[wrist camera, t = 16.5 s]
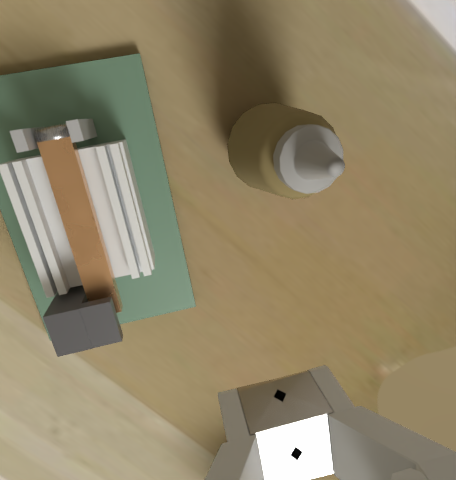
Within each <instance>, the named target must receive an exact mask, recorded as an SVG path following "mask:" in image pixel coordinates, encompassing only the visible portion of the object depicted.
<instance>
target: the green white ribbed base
mask: <svg viewBox="0 0 456 480" xmlns="http://www.w3.org/2000/svg"><path fill="white" fill-rule="evenodd" d="M65 123H66V124H67V128H68V131H69V134H70V138H71V141H72V143H74V142H76V146H77V149H78V153H79V156H80V160H81V163H82V167H83V170H84V174H85V177H86V180H87V184H88V187H89V191H90V194H91V198H92V201H93V205H94V208H95V211H96V215H97V218H98V222H99V225H100V229H101V232H102V236H103V239H104V243H105V246H106V249H107V253H108V256H109V260H110V263H111V267H112V270H113V274H114V277H115V280H116V284H117V287H118V291H119V294H120V298H121V301H122V305H123V307H122V312H118V313H117V317H118V320H119V323H120V324H123V323H127V322H132V321H136V320H140V319H145V318H149V317H153V316H157V315H162V314H166V313H170V312H175V311H179V310H183V309H188V308H192V307H196V305H195V300H194V295H193V291H192V286H191V282H190V277H189V273H188V268H187V264H186V259H185V255H184V250H183V246H182V241H181V237H180V232H179V228H178V223H177V219H176V214H175V210H174V205H173V201H172V196H171V192H170V187H169V183H168V178H167V173H166V169H165V164H164V160H163V155H162V151H161V146H160V142H159V137H158V133H157V128H156V124H155V119H154V115H153V110H152V106H151V101H150V97H149V92H148V88H147V83H146V79H145V74H144V70H143V65H142V61H141V56H140V53H139V54H133V55H127V56H120V57H114V58H108V59H101V60H95V61H89V62H82V63H76V64H70V65H64V66H57V67H51V68H45V69H38V70H32V71H26V72H19V73H13V74H7V75H1V76H0V210H1V213H2V216H3V218H4V221H5V223H6V226H7V229H8V231H9V234H10V236H11V239H12V242H13V244H14V247H15V250H16V252H17V255H18V257H19V260H20V263H21V265H22V268H23V270H24V273H25V276H26V278H27V281H28V284H29V286H30V289H31V291H32V294H33V297H34V299H35V302H36V305H37V307H38V310H39V312H40V315H41V318H42V320H43V316H44V314H45V312H46V311H47V309H48V307H49V305H50V304H51V302H52V300H53V299H54V297H55V295H56V294H57V292H58V293H59V295H62V294H67V292H68V291H69V289H70V288H71V287H76V286H80V285H83V284H82V281H81V278H80V275H79V272H78V269H77V266H76V263H75V260H74V256H73V253H72V250H71V247H70V244H69V241H68V238H67V235H66V232H65V228H64V225H63V222H62V219H61V216H60V213H59V210H58V207H57V203H56V200H55V197H54V194H53V191H52V188H51V185H50V182H49V179H48V175H47V172H46V169H45V166H44V163H43V160H42V157H41V154H40V151H39V147H38V144H37V140H36V137H35V132H34V130H35V129H36V128H42V127H48V126H54V125H59V124H65ZM43 323H44V325H45V322H44V320H43ZM45 328H46V325H45ZM46 331H47V333H48V330H47V328H46ZM48 336H49V339H50V340H51V338H50V335H49V333H48Z"/></svg>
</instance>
